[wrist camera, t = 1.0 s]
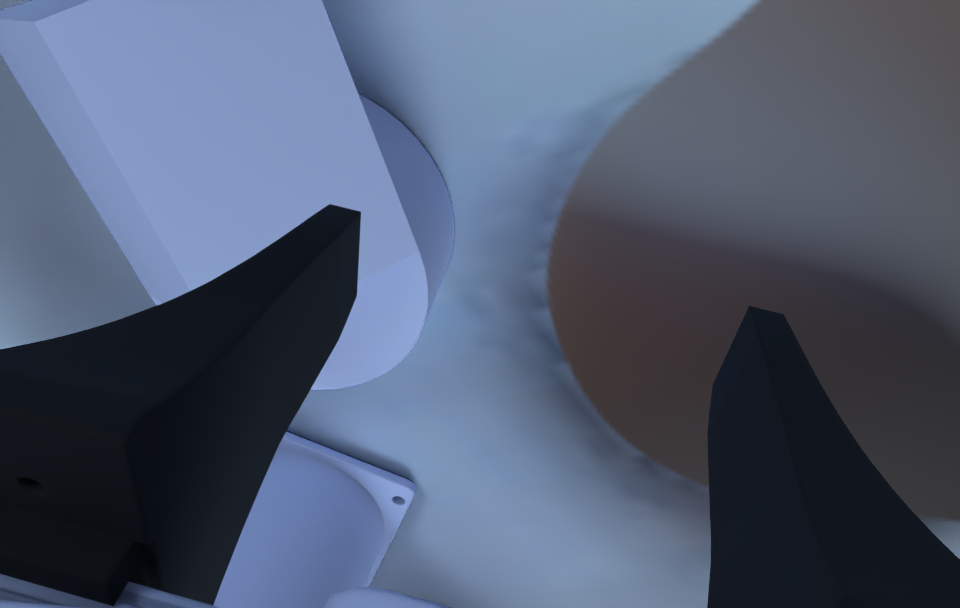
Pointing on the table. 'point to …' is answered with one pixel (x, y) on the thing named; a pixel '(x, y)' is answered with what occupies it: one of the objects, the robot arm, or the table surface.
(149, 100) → the wedge on round base
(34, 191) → the table surface
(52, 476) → the robot arm
